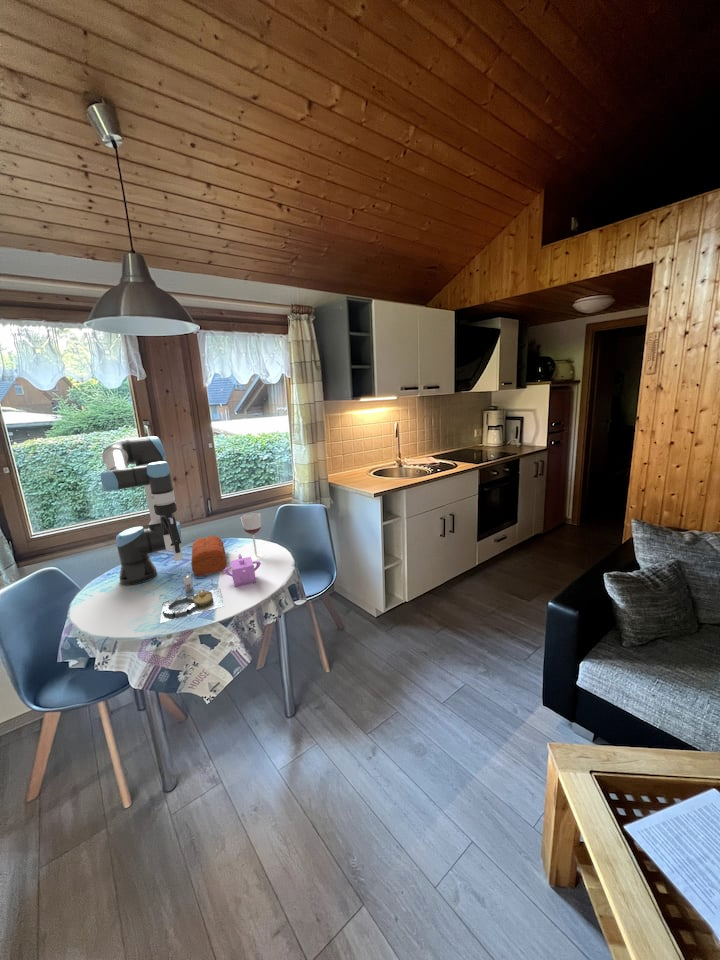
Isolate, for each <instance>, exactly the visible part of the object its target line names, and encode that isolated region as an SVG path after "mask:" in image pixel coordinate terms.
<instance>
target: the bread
mask: <svg viewBox="0 0 720 960" xmlns="http://www.w3.org/2000/svg"><path fill="white" fill-rule="evenodd" d="M190 563H191V565H190V566H191V570H192V573H194V575H196V577H201V576H202V577H203V576H206V575H207V576H208V575H211V574H216V573H220V572H224V569H225V568H227V563H228V562H227V556H226V551H225V546H224V542H223V540H222V539H221V538H220V537H219V536H216V535H211V536H208V537H200V538H198V539H197V540H194V542H193V543H192V547H191V562H190Z"/></svg>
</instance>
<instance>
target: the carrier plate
mask: <svg viewBox="0 0 720 960" xmlns="http://www.w3.org/2000/svg"><path fill="white" fill-rule="evenodd" d="M208 591H209V592H211V593H212V596H213V601H212V602H211V603H210V604H208V605H205V606H198V605H197V604H195V603H194V601H193V597H194V596H195V595H196V594H197V593H196V594H191V595H188V596H187V595H183V596H180V597H176V598H175V599H172V600H171V599H170V600H168V601H167V600H166V601H163V602H162V603H161V612H160V620H159V624H162V623H166V622H170V621H171V622H172V621H173V620H177V619H182V618H186V617H189V616H193V615H197V614H200V613H204V612H207V611H208V612H209V611H211V610H212V611H213V610H216V609H219V608H223V607H225V604H224V599H223V593H222V588H216V589H211V590H208Z"/></svg>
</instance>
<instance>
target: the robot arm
mask: <svg viewBox="0 0 720 960" xmlns="http://www.w3.org/2000/svg"><path fill="white" fill-rule="evenodd" d="M101 455H102V456H101V457H102V459H101V460H102V462H103V463H104V465H105V466H106V470H105V471H102V472H100V481H101V485H102V488H103V490H104V491H105V492H113V491H119V490H126V489H132V488H136V487H143V486H144V487H143V488H144V493H145V498H146V502H147V507H148V510H149V511H148V512H149V516H150V521H149V523H148V528H144V527H143V526H142V525H141V526H133V527H130V528H127V529H124V530H123V531H121V532H119V533H118V534H117V535H116V537H115V543H116V545H115V546H116V548H117V552H118V557H119V561H120V570H119V571H120V572H119V582H120V584H121V585H124V586H133V585H138V584H142V583H144V582H147V581H149V580H152V579H153V578H154V577H156V576H157V575H158V572H157V567H156V566H155V565H154V563H153V561H152V560H151V558H150V554H153V553H157V552H161V551H166V552H168V551H171V550H172V553H173V559H174V562H179V561H181V560H183V559H184V558H183V552H182V546H181V544H182V530H181V529H182V528H181V524H180V522H179V521H176V518H175V517H174V516H173V515H172V514H173V513H176V512H177V511H178V508H177V502H176V501H175V500H176V496H175V492H174V487H173V482H172V475H171V468H170V465H169V462H167V461H165V460H166V459H167V456H166V451H165V448H164V446H163V443H162V441H161V438H159V437H158V436H154V435H153V436H141V437H135V438H133V437H132V438H125V439H119V440H116V441H114V442H112V443H110V444H109V445H107V446H106V448H105V449H104V450H103V452H102V454H101ZM129 465H135V467H134V466H133V467H129Z"/></svg>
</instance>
